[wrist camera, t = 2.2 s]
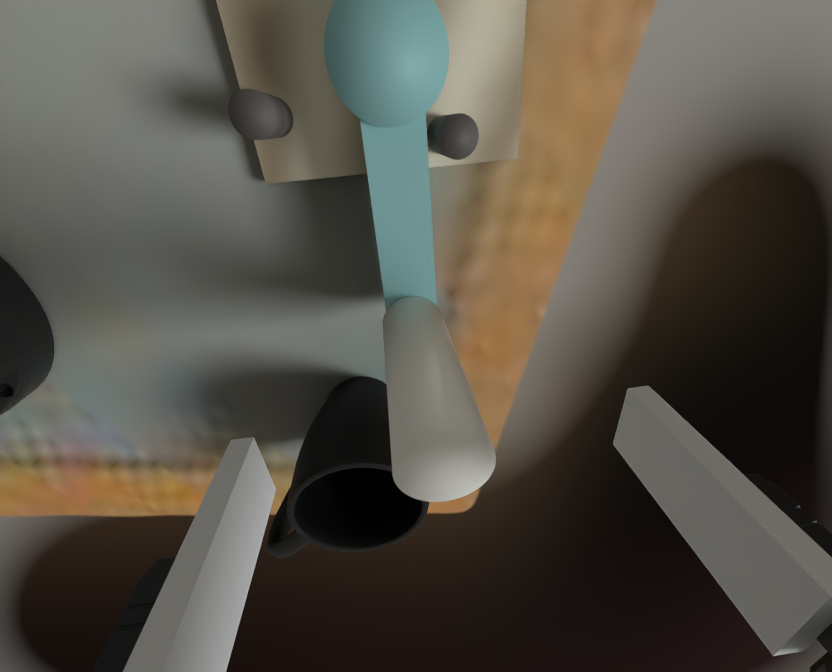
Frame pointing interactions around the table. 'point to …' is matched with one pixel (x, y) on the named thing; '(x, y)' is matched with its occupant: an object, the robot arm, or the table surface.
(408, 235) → the lever
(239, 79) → the press base
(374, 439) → the mug
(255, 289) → the table surface
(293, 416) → the table surface
